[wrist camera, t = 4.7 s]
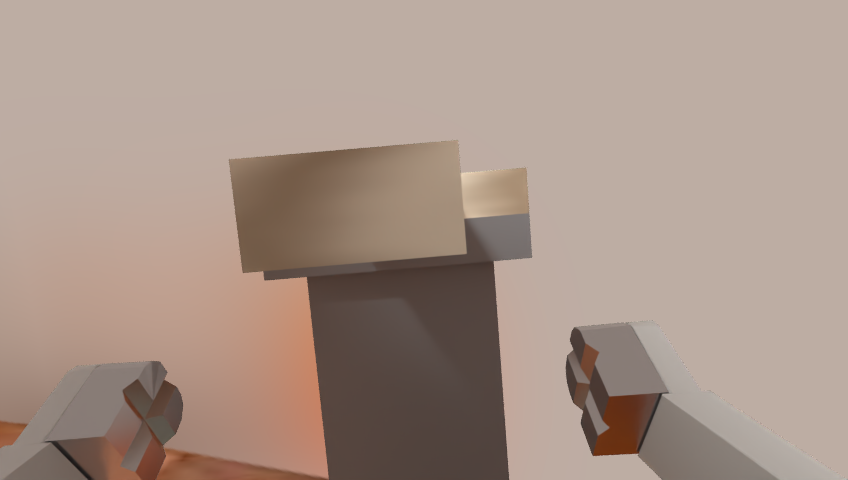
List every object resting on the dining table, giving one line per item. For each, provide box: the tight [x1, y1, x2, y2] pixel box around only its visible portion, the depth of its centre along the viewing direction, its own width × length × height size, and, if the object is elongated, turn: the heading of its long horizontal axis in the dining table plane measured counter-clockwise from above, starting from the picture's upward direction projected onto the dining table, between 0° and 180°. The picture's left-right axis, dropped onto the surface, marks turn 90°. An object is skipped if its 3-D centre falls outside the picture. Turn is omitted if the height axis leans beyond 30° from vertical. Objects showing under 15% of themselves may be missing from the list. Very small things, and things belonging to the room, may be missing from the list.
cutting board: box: [229, 140, 529, 273], centre depth 20 cm, size 12×24×2 cm, turn 0°
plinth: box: [263, 213, 532, 480], centre depth 27 cm, size 12×12×30 cm
